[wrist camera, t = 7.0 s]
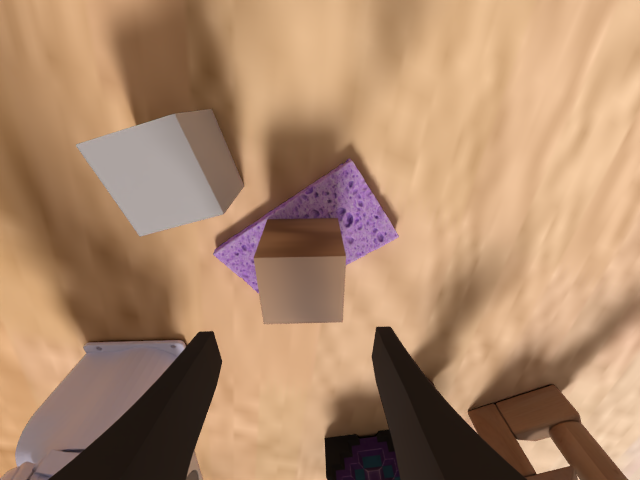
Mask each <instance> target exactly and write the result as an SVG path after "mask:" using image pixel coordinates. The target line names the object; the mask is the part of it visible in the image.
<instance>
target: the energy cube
mask: <svg viewBox="0 0 640 480" xmlns="http://www.w3.org/2000/svg"><path fill="white" fill-rule="evenodd" d="M325 457H326V478H327V480H401V479H400V474H399V469H398V464H397V459H396V454H395V449H394V445H393V441H392V437H391V433H390V430H382V431H378V434H377V436H376V437H369V438H361V439H359V438H358V437H357V435H356V434H353V435H345V436H338V437H331V438H325Z"/></svg>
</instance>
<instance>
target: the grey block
mask: <svg viewBox="0 0 640 480" xmlns="http://www.w3.org/2000/svg"><path fill="white" fill-rule="evenodd" d="M76 146H77V148H78V149H79V151H80V152H81V153H82V155H83V156H84V158H85V159H86V161H87V162H88V163H89V165H90V166H91V168H92V169H93V171H94V172H95V173H96V175H97V176H98V178H99V179H100V181H101V182H102V183H103V185H104V186H105V188H106V189H107V191H108V192H109V193H110V195H111V196H112V198H113V199H114V201H115V202H116V203H117V205H118V206H119V208H120V209H121V210H122V212H123V213H124V215H125V216H126V218H127V219H128V220H129V222H130V223H131V225H132V226H133V228H134V229H135V230H136V232H137V233H138V235H139V236H144V235H148V234H151V233H155V232H159V231H163V230H166V229H170V228H174V227H177V226H181V225H185V224H189V223H192V222H196V221H200V220H204V219H207V218H211V217H215V216H219V215H222V214H224V213H225V212H226V210H227V209H228V208H229V206H230V205H231V204H232V202H233V201H234V199H235V198H236V197H237V195H238V194H239V193H240V191H241V190H242V189H243V187H244V184H243V182H242V179H241V177H240V175H239V172H238V170H237V167H236V165H235V163H234V160H233V158H232V156H231V153H230V151H229V149H228V146H227V144H226V141H225V139H224V137H223V134H222V132H221V130H220V127H219V125H218V123H217V120H216V118H215V115H214V113H213V111H212V109H206V110H198V111H190V112H183V113H175V114H171V115H168V116H165V117H162V118H159V119H155V120H152V121H149V122H146V123H143V124H140V125H136V126H133V127H130V128H127V129H124V130H120V131H117V132H114V133H111V134H108V135H105V136H101V137H98V138H95V139H92V140H89V141H85V142H82V143H79V144H76Z"/></svg>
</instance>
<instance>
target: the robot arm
mask: <svg viewBox="0 0 640 480" xmlns="http://www.w3.org/2000/svg"><path fill="white" fill-rule="evenodd" d="M83 348H84V350H85V352H86V354H85V355H84V357H83V358H82V359H81V360H80V361H79V362H78V364H77V365H76V366H75V367H74V368H73V369H72V370H71V372H70V373H69V374H68V375H67V376H66V377H65V378H64V380H63V381H62V382H61V383H60V384H59V385H58V386H57V388H56V389H55V390H54V391H53V392H52V393H51V395H50V396H49V397H48V398H47V399H46V400H45V401H44V403H43V404H42V405H41V406H40V407H39V408H38V409H37V411H36V412H35V413H34V414H33V416H32V417H31V418H30V420H29V421H28V423H27V424H26V426H25V428H24V430H23V432H22V434H21V436H20V439H19V441H18V444H17V448H16V454H15V457H16V464H17V467H15V468H13V469H11V470H9V471H7V472H6V473H5V474H4V475H3V476H2V477H1V478H0V480H186V477H187V474H188V470H189V466H190V462H191V459H192V455H193V452H194V449H195V446H196V443H197V440H198V437H199V435H200V432H201V429H202V426H203V423H204V420H205V418H206V415H207V412H208V409H209V406H210V403H211V401H212V398H213V395H214V392H215V389H216V386H217V382H218V378H219V374H220V369H221V364H222V359H221V356H220V352H219V349H218V346H217V342H216V339H215V335H214V332H213V331H210V332H199V333H198V334H197V335H196V336H195V337H194V338H193V339H192V340H191V342H190V343H189V344H188V345H187V346H186V345H185V343H184V342H183V341H181V340H162V341H126V342H90V343H86V344H85V345H84V347H83ZM372 361H373V367H374V373H375V378H376V383H377V387H378V390H379V394H380V398H381V401H382V405H383V408H384V412H385V415H386V419H387V423H388V426H389V430H390V433H391V437H392V441H393V445H394V449H395V454H396V459H397V464H398V469H399V474H400V479H401V480H527V479H526V478H525V477H524V476H523V475H522V474H520V473H519V472H518V471H517V470H516V469H515V468H514V467H513V466H511V465H510V464H509V463H508V462H507V461H506V460H505V459H504V458H503V457H502V456H501V455H499V454H498V453H497V452H496V451H495V450H494V449H493V448H492V447H491V446H490V445H489V444H488V443H487V442H486V441H485V440H484V439H482V438H481V437H480V436H479V435H478V434H477V433H476V432H475V431H474V430H473V429H472V428H471V427H470V426H469V425H468V424H467V423H466V422H465V420H464V419H463V418H462V417H461V416H460V415H459V414H458V413H457V412H456V411H455V410H454V409H453V408H452V407H451V405H450V404H449V403H448V402H447V401H446V400H445V399H444V398H443V396H442V395H441V394H440V393H439V392H438V391H437V389H436V388H435V387H434V386H433V385H432V383H431V382H430V381H429V380H428V378H427V377H426V376H425V375H424V373H423V372H422V371H421V369H420V368H419V367H418V365H417V364H416V363H415V361H414V360H413V359H412V357H411V356H410V355H409V353H408V352H407V350H406V349H405V348H404V346H403V345H402V343H401V342H400V340H399V339H398V337H397V336H396V334H395V333H394V331H393V329H392V328H391V327H376V332H375V339H374V346H373V352H372Z"/></svg>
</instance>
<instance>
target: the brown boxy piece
mask: <svg viewBox="0 0 640 480" xmlns="http://www.w3.org/2000/svg"><path fill="white" fill-rule="evenodd" d="M254 265H255V271H256V277H257V284H258V290H259V296H260V303H261V309H262V315H263V322H264V324H290V323H328V322H343V306H344V287H345V268H346V253H345V249H344V244H343V239H342V235H341V230H340V226H339V221H338V218H310V219H267V222H266V224H265V227H264V230H263V233H262V236H261V238H260V241H259V244H258V247H257V250H256V252H255V255H254Z"/></svg>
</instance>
